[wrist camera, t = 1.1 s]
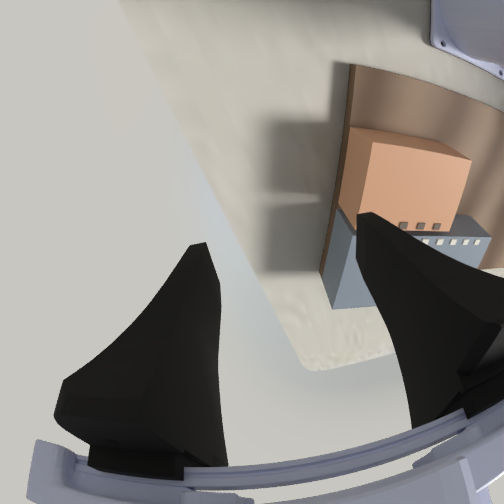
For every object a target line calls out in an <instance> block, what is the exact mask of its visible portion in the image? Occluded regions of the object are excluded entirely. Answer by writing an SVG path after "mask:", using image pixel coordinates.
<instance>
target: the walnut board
mask: <svg viewBox="0 0 504 504" xmlns="http://www.w3.org/2000/svg"><path fill="white" fill-rule="evenodd" d="M350 127H356V128H364V129H371V130H378V131H384V132H390V133H396V134H402V135H407V136H412V137H418V138H422V139H427V140H432V141H436V142H441V143H444V144H446V145H448V146H449V147H451V148H453V149H454V150H456V151H458V152H459V153H461V154H462V155H464V156H466V157H467V158H469V159H470V160H472V163H471V167H470V170H469V174H468V177H467V181H466V184H465V187H464V190H463V194H462V197H461V200H460V203H459V206H458V209H457V211H456V214H455V215H466V216H471V217H472V218H473V219H474V220H475V221H476V222H477V223H478V224H479V225H480V226H481V227H482V228H483V229H484V230H485V231H486V232H487V233H488V234H489V235H490V236H491V237H492V239H491V241H490V243H489V245H488V247H487V250H486V252H485V254H484V256H483V258H482V260H481V262H480V264H479V266H478V268H477V269H479V270H481V269H492V268H503V267H504V113H502V112H500V111H498V110H496V109H494V108H492V107H490V106H487V105H485V104H483V103H481V102H478V101H476V100H473V99H471V98H469V97H466V96H464V95H461V94H458V93H456V92H453V91H450V90H448V89H445V88H442V87H439V86H436V85H433V84H430V83H427V82H424V81H420V80H417V79H414V78H410V77H407V76H403V75H399V74H395V73H392V72H387V71H383V70H379V69H375V68H370V67H365V66H360V65H354V64H350V73H349V84H348V94H347V104H346V113H345V121H344V129H343V137H342V145H341V152H340V159H339V166H338V172H337V179H336V185H335V191H334V197H333V203H332V208H331V214H330V220H329V225H328V230H327V236H326V241H325V246H324V251H323V256H322V260H321V265H320V270H319V272H320V275H321V278H322V276H323V272H324V268H325V263H326V258H327V254H328V249H329V244H330V240H331V235H332V230H333V225H334V219H335V214H336V209H341V207H340V205H339V204H338V201H339V195H340V190H341V184H342V178H343V172H344V165H345V159H346V152H347V146H348V138H349V131H350Z"/></svg>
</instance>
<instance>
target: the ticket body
mask: <svg viewBox="0 0 504 504" xmlns="http://www.w3.org/2000/svg"><path fill="white" fill-rule="evenodd" d="M403 231H405V232H407V233H408V234H410V235H411V236H413V237H415V238H416V239H418V240H420V241H421V242H423V243H425V244H427V245H429V246H430V247H432V248H434V249H436V250H437V251H439V252H441V253H443V254H445V255H447V256H449V257H451V258H453V259H455V260H457V261H460V262H462V263H464V264H466V265H469V266H471V267H474V268H476V269H477V268H478V266H479V264H480V262H481V260H482V258H483V256H484V254H485V252H486V250H487V247H488V245H489V243H490V241H491V239H492V237H491V236H490V235H489V234H488V233H487V232H486V231H485V230H484V229H483V228H482V227H481V226H480V225H479V224H478V223H477V222H476V221H475V220H474V219H473V218H472V217H471V216H466V215H455V217H454V220H453V223H452V225H451V228H450V230H449V232H448V231H406V230H403ZM355 257H356V230H355V229H354V228H353V226H352V224H351V223H350V221H349V220H348V218H347V216H346V215H345V213H344V212H343V210H342V209H336V214H335V219H334V225H333V230H332V235H331V240H330V244H329V249H328V254H327V258H326V263H325V268H324V272H323V276H322V281H323V284H324V287H325V290H326V293H327V296H328V298H329V301H330V304H331V307H332V310H333V309H346V308H359V307H370V306H376V304H375V302H374V300H373V298H372V296H371V294H370V292H369V290H368V288H367V286H366V284H365V282H364V280H363V277H362V274H361V272H360V269H359V266H358V263H357V261H356V258H355Z"/></svg>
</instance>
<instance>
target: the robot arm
mask: <svg viewBox="0 0 504 504" xmlns="http://www.w3.org/2000/svg"><path fill="white" fill-rule="evenodd" d="M430 41H431V44H432V45H433V47H435V48H437V49H440V50H442V51H445V52H447V53H450V54H452V55H454V56H456V57H459V58H461V59H463V60H465V61H467V62H469V63H471V64H473V65H475V66H477V67H479V68H481V69H483V70H485V71H487V72H489V73H491V74H492V75H494V76H496V77H498V78H500V79H501V80H503V81H504V0H431V36H430ZM441 41H442V43H443V46H442V45H441ZM499 72H500V73H499ZM355 258H356V261H357V263H358V266H359V269H360V272H361V274H362V277H363V280H364V282H365V284H366V286H367V288H368V290H369V292H370V294H371V296H372V298H373V300H374V302H375V304H376V306H377V308H378V310H379V312H380V314H381V316H382V318H383V320H384V322H385V324H386V326H387V329H388V331H389V333H390V336H391V339H392V342H393V345H394V348H395V351H396V355H397V358H398V362H399V365H400V369H401V372H402V376H403V381H404V385H405V390H406V394H407V399H408V404H409V411H410V417H411V424H412V430H409V431H406V432H404V433H401V434H398V435H395V436H392V437H389V438H386V439H382V440H379V441H376V442H373V443H369V444H366V445H362V446H358V447H355V448H351V449H347V450H343V451H338V452H334V453H330V454H325V455H320V456H315V457H309V458H304V459H298V460H291V461H284V462H278V463H269V464H259V465H248V466H233V467H228V459H227V453H226V446H225V440H224V433H223V423H222V415H221V405H220V392H219V377H218V351H219V335H220V321H221V292H220V282H219V279H218V276H217V273H216V271H215V268H214V265H213V262H212V259H211V256H210V253H209V250H208V247H207V244H206V242H204V243H199V244H194V245H190V246H189V247H188V249H187V250H186V252H185V253H184V255H183V256H182V258H181V260H180V261H179V262H178V264H177V266H176V267H175V268H174V270H173V272H172V273H171V274H170V276H169V277H168V279H167V280H166V282H165V283H164V285H163V286H162V287H161V288H160V290H159V291H158V293H157V294H156V295H155V297H154V298H153V299H152V301H151V302H150V303H149V305H148V306H147V307H146V308H145V309H144V310H143V312H142V313H141V314H140V315H139V316H138V317H137V318H136V320H135V321H134V322H133V323H132V324H131V325H130V326H129V327H128V328H127V329H126V330H125V331H124V332H123V333H122V334H121V335H120V336H119V337H118V338H117V339H116V340H115V341H114V342H113V343H112V344H110V345H109V346H108V347H107V348H106V349H105V350H103V351H102V352H101V353H100V354H99V355H97V356H96V357H95V358H94V359H93V360H91V361H90V362H89V363H87V364H86V365H85V366H83V367H82V368H80V369H79V370H78V371H76V372H75V373H73V374H72V375H70V376H69V377H67V378H66V379H64V380H63V383H62V386H61V390H60V394H59V397H58V400H57V404H56V408H55V412H54V418H55V420H56V422H57V423H58V424H59V425H60V426H61V427H62V428H64V429H65V430H66V431H68V432H70V433H71V434H73V435H74V436H76V437H77V438H79V439H81V440H83V441H84V442H86V443H88V444H89V445H90V449H89V456H88V457H86V456H82V455H77V454H75V453H74V452H72V451H71V450H69V449H67V448H65V447H63V446H60V445H57V444H53V443H50V442H46V441H42V440H36V442H35V447H34V452H33V457H32V462H31V468H30V474H29V481H28V487H27V495H26V497H27V499H29V500H30V501H32V502H35V503H37V504H254V500H253V499H252V498H244V497H239V496H238V495H237V494H235V493H215V492H201V491H196V490H243V489H259V488H269V487H277V486H287V485H293V484H300V483H306V482H312V481H318V480H322V479H328V478H332V477H337V476H341V475H346V474H349V473H353V472H357V471H361V470H365V469H368V468H372V467H375V466H378V465H382V464H384V463H387V462H391V461H394V460H397V459H399V458H402V457H405V456H408V455H410V454H413V453H415V452H418V451H421V450H423V449H426V448H428V447H430V446H433V445H435V444H437V443H440V442H442V441H444V440H446V439H448V438H451V437H453V436H455V435H457V434H458V435H457V436H455V437H453V438H451V439H450V440H448V441H446V442H444V443H442V444H440V445H438V446H436V447H434V448H433V449H432V450H431V452H430V453H428V454H427V455H426V456H424V457H422V458H421V459H419V460H417V461H416V462H414V463H413V465H412V466H413V469H412V470H409V471H406V472H403V473H400V474H397V475H394V476H391V477H388V478H385V479H382V480H379V481H375V482H372V483H368V484H365V485H362V486H358V487H354V488H350V489H346V490H341V491H338V492H333V493H328V494H323V495H319V496H313V497H308V498H302V499H296V500H290V501H282V502H275V503H266V504H492V503H491V498H490V494H489V490H488V485H489V484H491V483H492V482H494V481H495V480H496V479H498V478H499V477H500V476H502V475H503V474H504V278H502V277H498V276H495V275H492V274H489V273H487V272H484V271H481V270H479V269H476V268H474V267H471V266H469V265H466V264H464V263H462V262H460V261H457V260H455V259H453V258H451V257H449V256H447V255H445V254H443V253H441V252H439V251H437V250H436V249H434V248H432V247H430V246H429V245H427V244H425V243H423V242H421V241H420V240H418V239H416V238H415V237H413V236H411V235H410V234H408V233H407V232H405V231H403V230H402V229H400V228H398V227H397V226H395V225H394V224H392V223H390V222H389V221H387V220H386V219H384V218H382V217H381V216H379V215H377V214H375V213H373V212H366V213H361V214H357V218H356V257H355Z"/></svg>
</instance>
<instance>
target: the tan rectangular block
mask: <svg viewBox="0 0 504 504" xmlns="http://www.w3.org/2000/svg"><path fill="white" fill-rule="evenodd" d="M471 163H472V160H470V159H469V158H467V157H466V156H464V155H462V154H461V153H459V152H458V151H456V150H454V149H453V148H451V147H449V146H448V145H446V144H444V143H441V142H436V141H432V140H427V139H422V138H418V137H412V136H407V135H402V134H396V133H390V132H384V131H378V130H371V129H364V128H356V127H350V131H349V138H348V146H347V152H346V159H345V165H344V172H343V178H342V184H341V190H340V195H339V201H338V204H339V205H340V207H341V209H342V210H343V212H344V213H345V215H346V216H347V218H348V220H349V221H350V223H351V224H352V226H353V228H354V229H355V230H356V218H357V214H361V213H366V212H373V213H375V214H377V215H379V216H381V217H382V218H384V219H386V220H387V221H389V222H390V223H392V224H394V225H395V226H397V227H398V228H400V229H402V230H406V231H448V232H449V230H450V228H451V225H452V223H453V220H454V217H455V214H456V211H457V209H458V206H459V203H460V200H461V197H462V194H463V190H464V187H465V184H466V181H467V177H468V174H469V170H470V167H471Z"/></svg>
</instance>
